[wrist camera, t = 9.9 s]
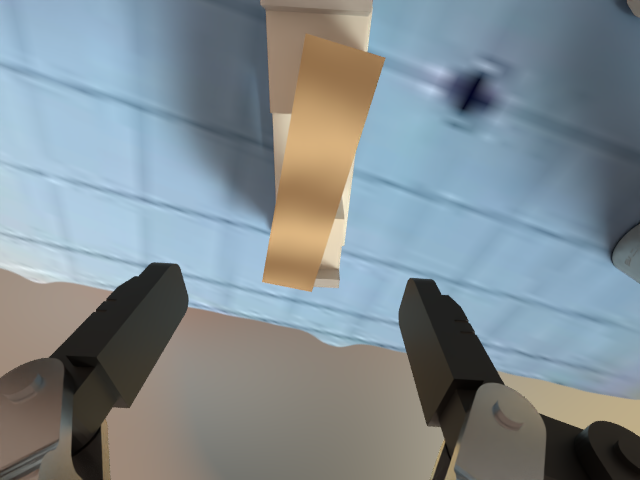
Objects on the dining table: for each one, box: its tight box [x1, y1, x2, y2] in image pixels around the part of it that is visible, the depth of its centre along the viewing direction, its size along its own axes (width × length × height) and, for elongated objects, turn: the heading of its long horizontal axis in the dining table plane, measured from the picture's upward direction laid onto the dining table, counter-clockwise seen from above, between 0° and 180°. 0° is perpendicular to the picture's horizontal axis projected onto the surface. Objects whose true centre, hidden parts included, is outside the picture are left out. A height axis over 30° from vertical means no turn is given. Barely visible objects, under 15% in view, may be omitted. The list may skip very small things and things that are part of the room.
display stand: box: [260, 0, 373, 288], centre depth 24 cm, size 22×8×10 cm, turn 177°
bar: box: [262, 34, 385, 292], centre depth 19 cm, size 16×4×4 cm, turn 166°
